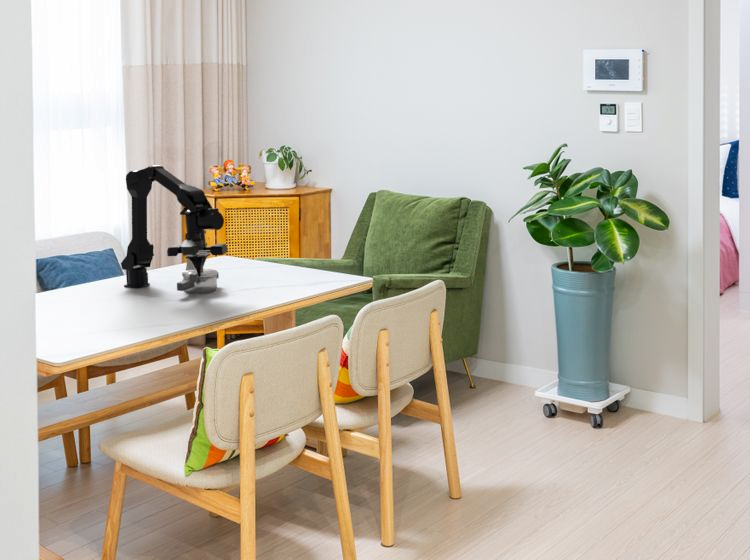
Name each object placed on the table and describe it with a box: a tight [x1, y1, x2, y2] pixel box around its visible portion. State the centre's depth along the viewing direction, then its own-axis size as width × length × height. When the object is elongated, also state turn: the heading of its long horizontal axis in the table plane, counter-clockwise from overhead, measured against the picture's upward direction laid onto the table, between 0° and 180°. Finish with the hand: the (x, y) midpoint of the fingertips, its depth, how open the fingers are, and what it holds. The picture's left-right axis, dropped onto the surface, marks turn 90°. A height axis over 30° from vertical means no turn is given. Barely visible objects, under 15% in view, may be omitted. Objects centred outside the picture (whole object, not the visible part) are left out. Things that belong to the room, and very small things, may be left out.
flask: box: [181, 257, 195, 281], centre depth 328 cm, size 7×7×10 cm
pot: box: [176, 271, 220, 295], centre depth 317 cm, size 20×11×5 cm, turn 158°
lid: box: [181, 268, 218, 282], centre depth 315 cm, size 18×12×2 cm, turn 179°
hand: (199, 276), depth 309 cm, fingers closed
